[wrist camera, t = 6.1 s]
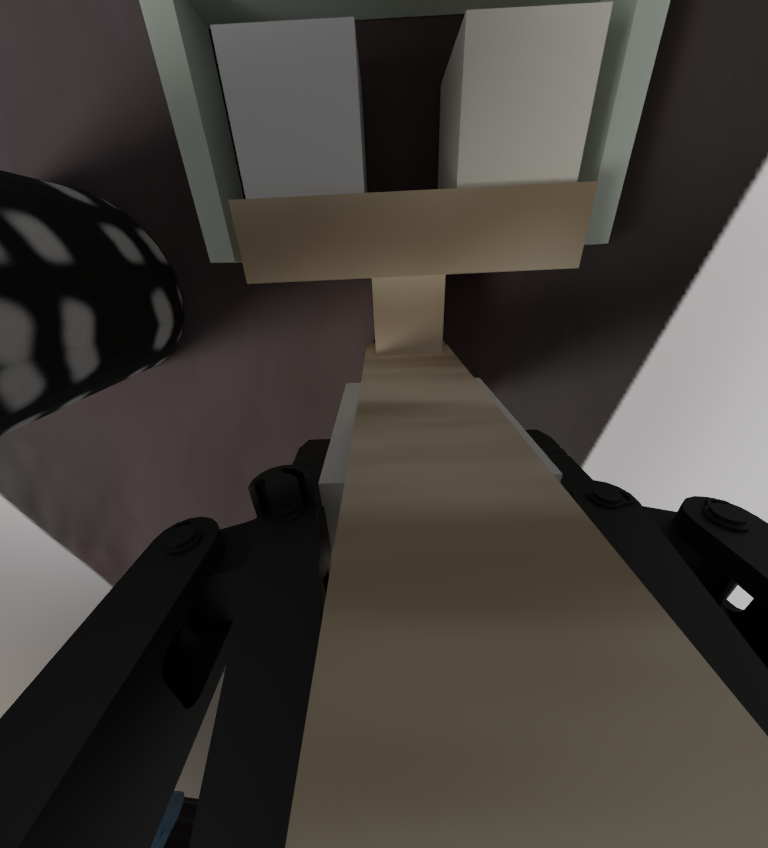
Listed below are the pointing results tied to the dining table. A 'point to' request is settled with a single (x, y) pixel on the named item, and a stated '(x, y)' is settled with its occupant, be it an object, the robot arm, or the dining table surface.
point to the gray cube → (294, 105)
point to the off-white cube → (520, 94)
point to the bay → (244, 3)
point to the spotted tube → (75, 298)
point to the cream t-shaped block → (485, 581)
